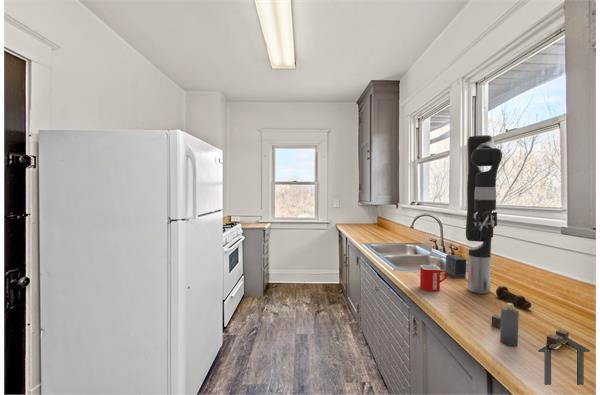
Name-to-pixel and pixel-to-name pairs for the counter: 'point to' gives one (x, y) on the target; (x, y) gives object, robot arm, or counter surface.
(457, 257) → the small box
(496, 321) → the notched blocks
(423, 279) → the mug
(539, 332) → the counter surface
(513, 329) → the grey cylindrical bottle
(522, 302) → the dark brown lumpy bar
